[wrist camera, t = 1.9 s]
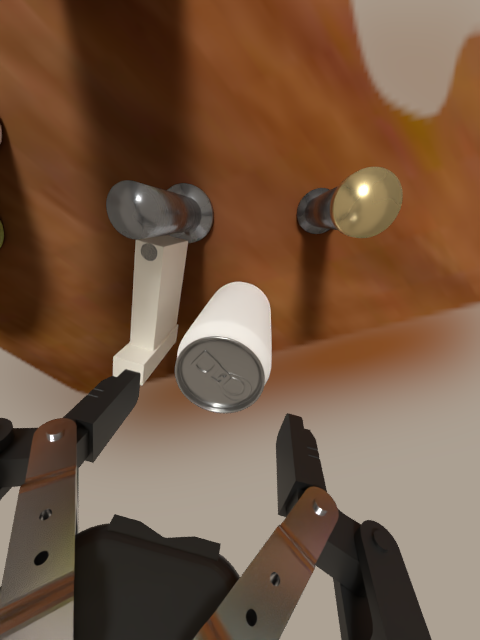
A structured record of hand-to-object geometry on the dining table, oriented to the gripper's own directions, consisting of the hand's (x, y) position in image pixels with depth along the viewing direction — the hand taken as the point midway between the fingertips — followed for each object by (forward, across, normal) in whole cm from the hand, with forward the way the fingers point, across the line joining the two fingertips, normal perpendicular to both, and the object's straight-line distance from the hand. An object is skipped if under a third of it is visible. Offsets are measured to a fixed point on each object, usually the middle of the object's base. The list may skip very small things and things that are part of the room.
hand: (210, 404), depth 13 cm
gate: (+12, +7, -1) cm, 14 cm away
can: (+14, 0, 0) cm, 14 cm away
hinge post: (+14, +7, -8) cm, 18 cm away
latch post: (+14, -4, -11) cm, 18 cm away
